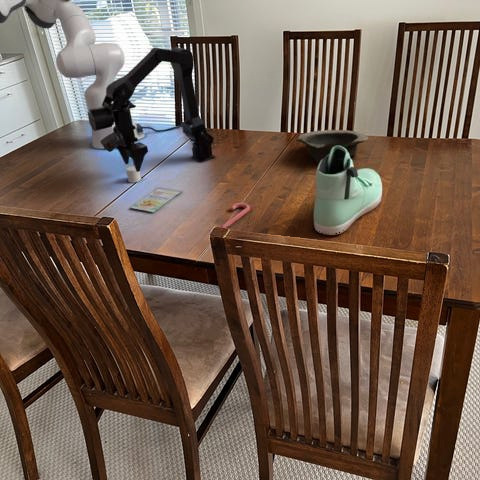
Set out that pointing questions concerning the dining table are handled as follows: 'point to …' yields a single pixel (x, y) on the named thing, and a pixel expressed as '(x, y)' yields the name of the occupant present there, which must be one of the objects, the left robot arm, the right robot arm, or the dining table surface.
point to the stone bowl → (331, 142)
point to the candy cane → (239, 215)
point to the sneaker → (343, 192)
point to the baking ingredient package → (155, 200)
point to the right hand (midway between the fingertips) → (132, 167)
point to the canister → (133, 174)
